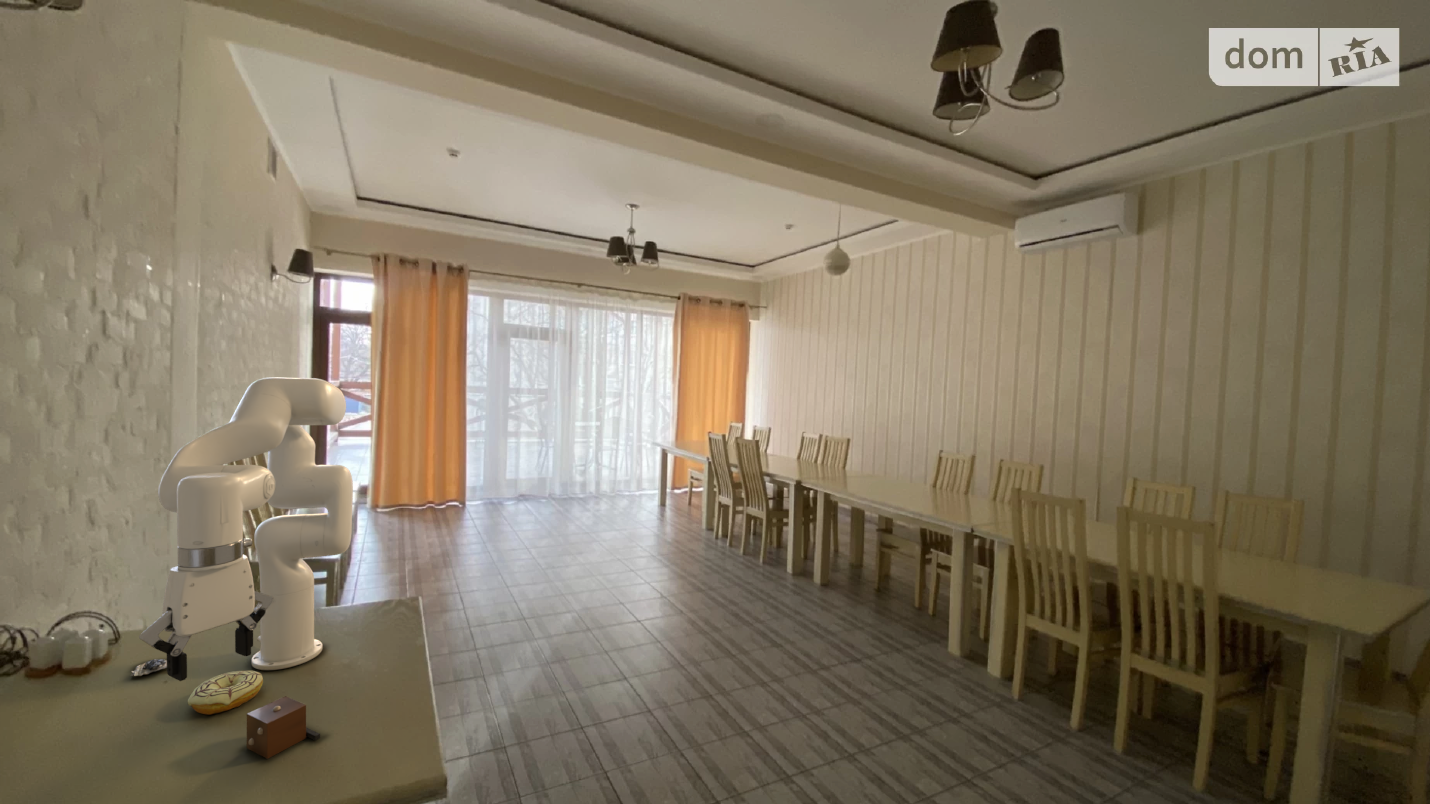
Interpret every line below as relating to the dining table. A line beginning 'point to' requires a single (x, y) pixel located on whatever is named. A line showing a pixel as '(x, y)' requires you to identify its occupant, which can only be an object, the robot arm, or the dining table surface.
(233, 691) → the decorated donut
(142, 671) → the oyster shell
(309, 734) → the stop strip
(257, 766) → the dining table surface
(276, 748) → the die
